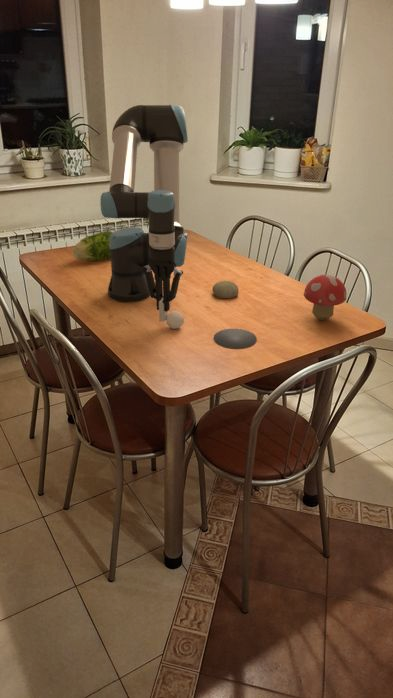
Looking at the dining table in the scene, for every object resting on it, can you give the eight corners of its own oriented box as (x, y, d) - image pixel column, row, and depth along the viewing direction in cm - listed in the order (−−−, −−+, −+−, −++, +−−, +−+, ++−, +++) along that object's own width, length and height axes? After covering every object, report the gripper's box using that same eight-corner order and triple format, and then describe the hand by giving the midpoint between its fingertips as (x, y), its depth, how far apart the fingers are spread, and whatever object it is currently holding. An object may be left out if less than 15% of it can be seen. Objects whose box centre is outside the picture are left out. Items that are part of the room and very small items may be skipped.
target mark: (207, 344, 157) (207, 343, 157) (221, 326, 167) (221, 325, 167) (249, 352, 152) (249, 351, 152) (261, 333, 163) (261, 332, 163)
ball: (160, 323, 164) (169, 312, 161) (167, 316, 169) (176, 304, 165) (173, 335, 164) (182, 324, 161) (180, 327, 169) (189, 316, 165)
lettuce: (68, 262, 221) (65, 235, 216) (111, 252, 232) (109, 227, 227) (82, 269, 213) (79, 242, 208) (125, 259, 225) (124, 233, 219)
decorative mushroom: (350, 326, 168) (357, 282, 161) (310, 329, 166) (315, 285, 158) (332, 309, 180) (338, 267, 172) (295, 312, 177) (299, 270, 170)
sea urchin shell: (239, 296, 185) (223, 279, 183) (223, 309, 189) (207, 293, 187) (242, 286, 193) (227, 270, 191) (226, 299, 196) (212, 284, 195)
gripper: (136, 246, 154) (139, 320, 164) (176, 252, 149) (176, 328, 160) (148, 240, 160) (150, 312, 171) (187, 245, 155) (187, 319, 166)
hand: (163, 319), depth 165 cm, fingers closed
